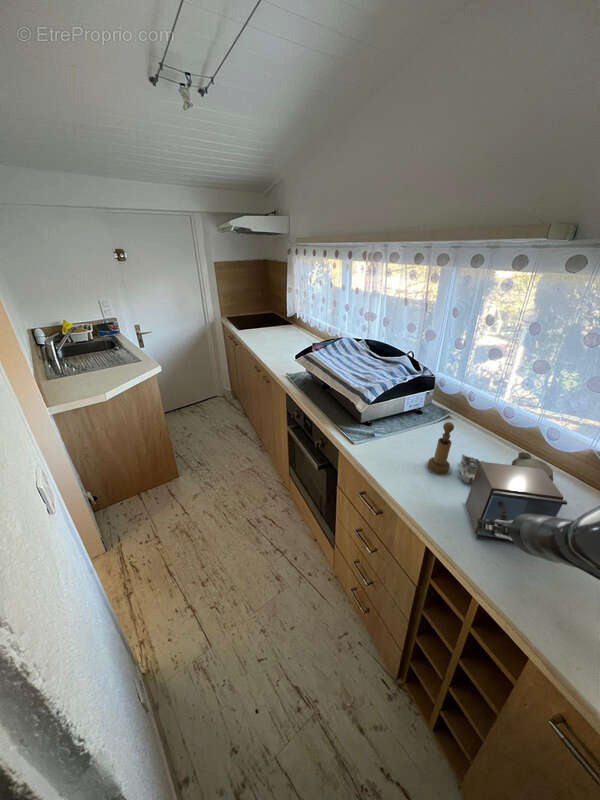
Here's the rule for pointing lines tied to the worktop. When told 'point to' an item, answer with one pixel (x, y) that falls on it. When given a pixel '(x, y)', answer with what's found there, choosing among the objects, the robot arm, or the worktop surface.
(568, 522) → the robot arm
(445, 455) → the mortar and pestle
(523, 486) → the cupboard
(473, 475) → the grey lumpy piece
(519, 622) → the worktop surface
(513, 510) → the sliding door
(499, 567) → the worktop surface
